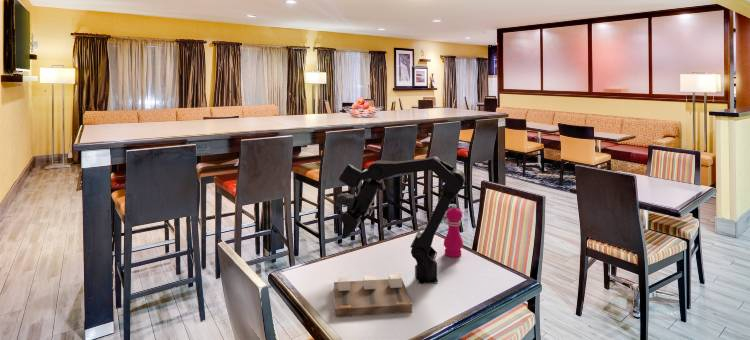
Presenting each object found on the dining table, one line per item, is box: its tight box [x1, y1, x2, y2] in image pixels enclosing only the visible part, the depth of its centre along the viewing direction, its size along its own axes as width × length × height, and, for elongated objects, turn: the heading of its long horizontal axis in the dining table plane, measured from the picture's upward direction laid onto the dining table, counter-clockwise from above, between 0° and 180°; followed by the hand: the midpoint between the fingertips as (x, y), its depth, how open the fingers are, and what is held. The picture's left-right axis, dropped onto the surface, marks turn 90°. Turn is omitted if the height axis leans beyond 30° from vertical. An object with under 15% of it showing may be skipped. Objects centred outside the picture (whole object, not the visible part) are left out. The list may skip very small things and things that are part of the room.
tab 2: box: [363, 275, 377, 289], centre depth 135 cm, size 4×3×3 cm
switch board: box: [333, 278, 413, 318], centre depth 133 cm, size 22×17×3 cm
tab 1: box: [337, 276, 351, 291], centre depth 134 cm, size 4×3×3 cm
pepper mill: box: [443, 203, 464, 259], centre depth 166 cm, size 7×7×20 cm
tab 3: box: [388, 273, 403, 288], centre depth 136 cm, size 4×3×3 cm
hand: (347, 233), depth 151 cm, fingers open, 9 cm apart
